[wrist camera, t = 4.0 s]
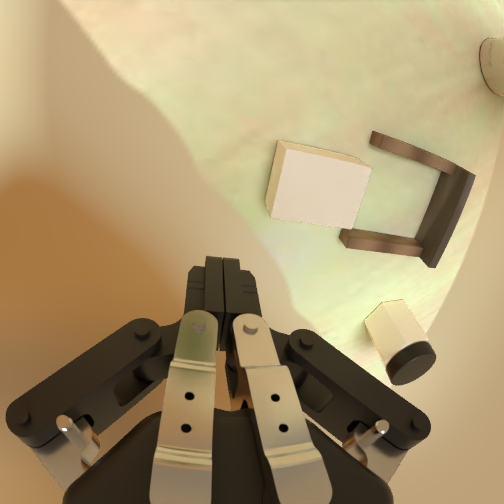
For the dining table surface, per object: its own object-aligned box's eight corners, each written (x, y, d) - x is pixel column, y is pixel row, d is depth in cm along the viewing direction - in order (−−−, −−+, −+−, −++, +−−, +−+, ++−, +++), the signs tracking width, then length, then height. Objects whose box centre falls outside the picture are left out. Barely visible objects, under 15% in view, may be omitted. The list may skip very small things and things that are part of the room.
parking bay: (452, 162, 31) (475, 175, 27) (417, 248, 38) (435, 268, 34) (372, 130, 28) (396, 140, 24) (339, 237, 36) (353, 259, 32)
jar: (381, 338, 49) (405, 389, 39) (354, 328, 46) (379, 385, 36) (414, 305, 45) (446, 355, 35) (390, 291, 42) (424, 347, 32)
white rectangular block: (353, 155, 30) (372, 168, 26) (337, 210, 34) (351, 229, 30) (277, 139, 28) (286, 148, 24) (263, 199, 32) (270, 218, 28)
